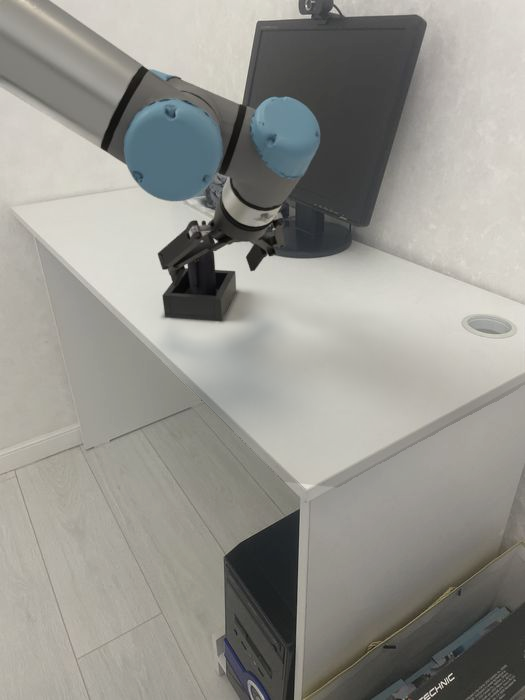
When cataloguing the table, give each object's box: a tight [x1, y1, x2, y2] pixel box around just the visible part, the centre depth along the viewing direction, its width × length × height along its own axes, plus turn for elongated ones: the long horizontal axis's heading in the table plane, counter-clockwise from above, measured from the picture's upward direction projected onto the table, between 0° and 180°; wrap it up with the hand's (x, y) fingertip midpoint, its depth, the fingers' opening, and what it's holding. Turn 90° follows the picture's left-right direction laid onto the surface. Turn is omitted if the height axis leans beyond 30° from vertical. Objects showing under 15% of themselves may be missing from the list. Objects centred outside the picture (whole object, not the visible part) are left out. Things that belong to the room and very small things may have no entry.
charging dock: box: [161, 267, 237, 322], centre depth 95 cm, size 10×12×4 cm
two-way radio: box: [186, 220, 216, 296], centre depth 92 cm, size 6×4×15 cm
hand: (213, 270), depth 86 cm, fingers open, 13 cm apart
